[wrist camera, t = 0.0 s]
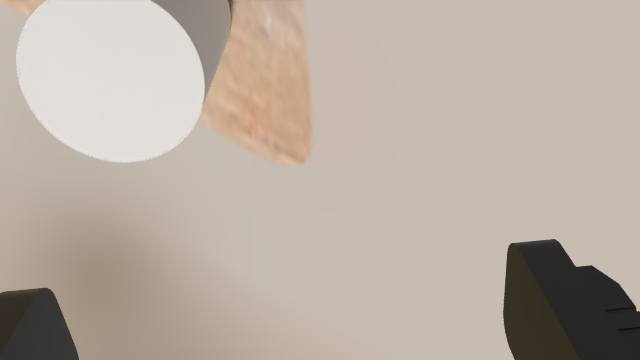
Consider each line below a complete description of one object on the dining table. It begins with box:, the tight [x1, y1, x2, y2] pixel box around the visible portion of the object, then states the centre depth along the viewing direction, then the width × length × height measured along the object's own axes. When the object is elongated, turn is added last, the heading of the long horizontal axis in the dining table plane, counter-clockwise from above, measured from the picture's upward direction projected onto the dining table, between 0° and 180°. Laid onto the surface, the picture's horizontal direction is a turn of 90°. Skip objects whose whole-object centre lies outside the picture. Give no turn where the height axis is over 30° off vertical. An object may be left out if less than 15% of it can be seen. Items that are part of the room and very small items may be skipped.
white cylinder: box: [16, 0, 231, 162], centre depth 32 cm, size 8×8×12 cm
